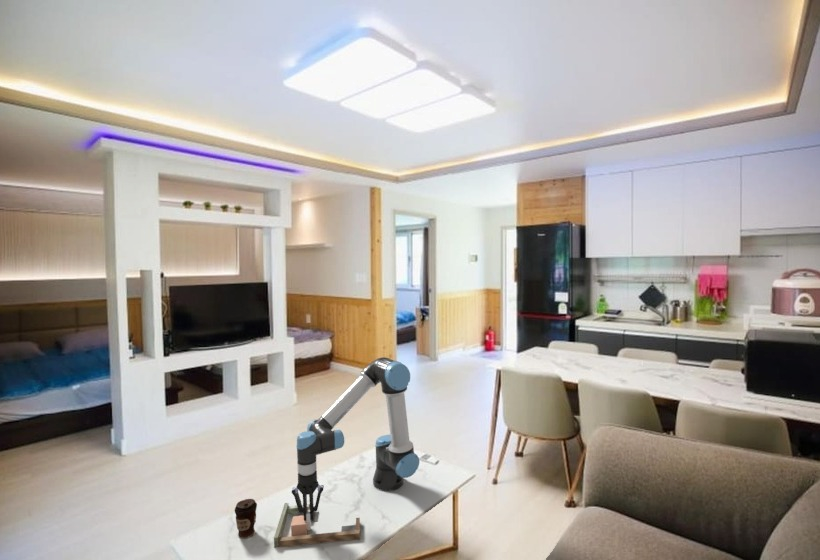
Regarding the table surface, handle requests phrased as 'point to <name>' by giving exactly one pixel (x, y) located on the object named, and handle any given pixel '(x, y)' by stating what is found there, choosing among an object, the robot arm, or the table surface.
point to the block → (298, 526)
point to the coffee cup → (246, 517)
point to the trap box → (344, 535)
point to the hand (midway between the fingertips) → (309, 527)
